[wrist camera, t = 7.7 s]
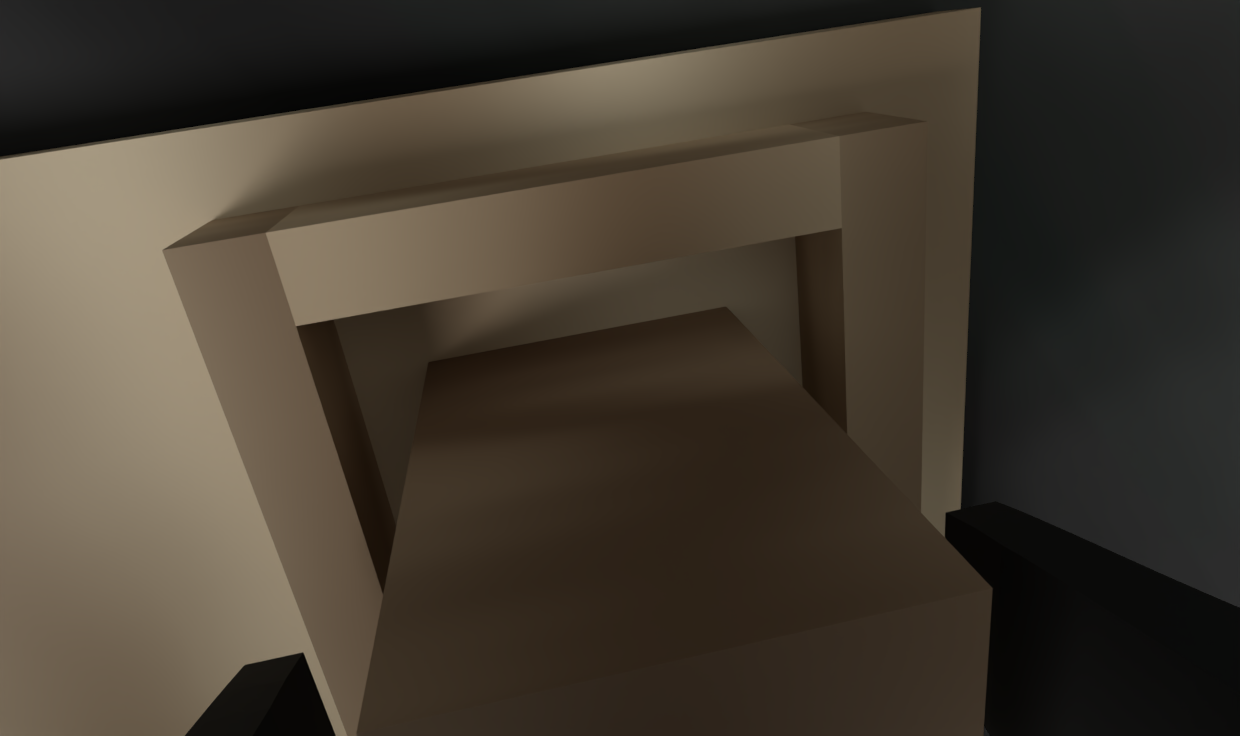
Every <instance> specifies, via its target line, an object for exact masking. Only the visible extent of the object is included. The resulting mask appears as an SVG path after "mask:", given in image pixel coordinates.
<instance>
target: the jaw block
mask: <svg viewBox="0 0 1240 736" xmlns="http://www.w3.org/2000/svg"><path fill="white" fill-rule="evenodd" d="M992 590H993V588H992V587H991V586H990V585H989V584H988V583H987V582H986V581H985V580H984V579H983V578H982V577H981V575H980V574H979V573H978V572H977V571H976V570H975V569H974V568H973V567H972V566H971V565H970V564H969V563H968V562H967V561H966V560H965V559H964V557H963V556H962V555H961V554H960V553H959V552H958V551H957V550H956V549H955V548H954V547H953V546H952V545H951V544H950V543H949V542H948V541H947V539H946V538H945V537H944V536H943V535H942V534H941V533H940V532H939V531H938V530H937V529H936V528H935V527H934V526H933V525H932V524H931V523H930V521H929V520H928V519H927V518H926V517H925V516H924V515H923V514H922V513H921V512H920V511H919V510H918V509H917V508H916V507H915V506H914V505H913V503H912V502H911V501H910V500H909V499H908V498H907V497H906V496H905V495H904V494H903V493H902V492H901V491H900V490H899V489H898V488H897V487H896V485H895V484H894V483H893V482H892V481H891V480H890V479H889V478H888V477H887V476H886V475H885V474H884V473H883V472H882V471H881V470H880V469H879V468H878V466H877V465H876V464H875V463H874V462H873V461H872V460H871V459H870V458H869V457H868V456H867V455H866V454H865V453H864V452H863V451H862V450H861V448H860V447H859V446H858V445H857V444H856V443H855V442H854V441H853V440H852V439H851V438H850V437H849V436H848V435H847V434H846V433H845V432H844V430H843V429H842V428H841V427H840V426H839V425H838V424H837V423H836V422H835V421H834V420H833V419H832V418H831V417H830V416H829V415H828V414H827V412H826V411H825V410H824V409H823V408H822V407H821V406H820V405H819V404H818V403H817V402H816V401H815V400H814V399H813V398H812V397H811V396H810V394H809V393H808V392H807V391H806V390H805V389H804V388H803V387H802V386H801V385H800V384H799V383H798V382H797V381H796V380H795V379H794V378H793V376H792V375H791V374H790V373H789V372H788V371H787V370H786V369H785V368H784V367H783V366H782V365H781V364H780V363H779V362H778V361H777V360H776V359H775V357H774V356H773V355H772V354H771V353H770V352H769V351H768V350H767V349H766V348H765V347H764V346H763V345H762V344H761V343H760V342H759V341H758V339H757V338H756V337H755V336H754V335H753V334H752V333H751V332H750V331H749V330H748V329H747V328H746V327H745V326H744V325H743V324H742V323H741V321H740V320H739V319H738V318H737V317H736V316H735V315H734V314H733V313H732V312H731V311H730V310H729V309H728V308H727V307H720V308H715V309H710V310H704V311H699V312H693V313H688V314H683V315H677V316H672V317H667V318H661V319H656V320H651V321H645V322H640V323H635V324H629V325H624V326H619V327H613V328H608V329H602V330H597V331H592V332H586V333H581V334H576V335H570V336H565V337H560V338H554V339H549V340H544V341H538V342H533V343H528V344H522V345H517V346H511V347H506V348H501V349H495V350H490V351H485V352H479V353H474V354H469V355H463V356H458V357H453V358H447V359H442V360H437V361H431V362H428V367H427V372H426V377H425V382H424V387H423V392H422V397H421V403H420V408H419V413H418V418H417V423H416V428H415V434H414V439H413V444H412V449H411V454H410V459H409V464H408V470H407V475H406V480H405V485H404V490H403V495H402V501H401V506H400V511H399V516H398V521H397V526H396V531H395V537H394V542H393V547H392V552H391V557H390V562H389V568H388V573H387V578H386V583H385V588H384V593H383V598H382V604H381V609H380V614H379V619H378V624H377V629H376V635H375V640H374V645H373V650H372V655H371V660H370V665H369V671H368V676H367V681H366V686H365V691H364V696H363V702H362V707H361V712H360V717H359V722H358V727H357V732H356V734H357V736H983V732H984V717H985V701H986V685H987V669H988V653H989V637H990V622H991V606H992Z"/></svg>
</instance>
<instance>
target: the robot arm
mask: <svg viewBox="0 0 1240 736" xmlns="http://www.w3.org/2000/svg"><path fill="white" fill-rule="evenodd" d="M945 538H946V539H947V541H948V542H949V543H950V544H951V545H952V546H953V547H954V548H955V549H956V550H957V551H958V552H959V553H960V554H961V555H962V556H963V557H964V559H965V560H966V561H967V562H968V563H969V564H970V565H971V566H972V567H973V568H974V569H975V570H976V571H977V572H978V573H979V574H980V575H981V577H982V578H983V579H984V580H985V581H986V582H987V583H988V584H989V585H990V586H991V587H992V588H993V590H992V606H991V622H990V637H989V653H988V669H987V685H986V701H985V717H984V726H985V728H986V730H987V731H988V733H989V734H990V736H1240V608H1239V607H1236V606H1234V605H1232V604H1229V603H1227V602H1225V601H1222V600H1220V599H1218V598H1215V597H1213V596H1211V595H1208V594H1206V593H1204V592H1201V591H1199V590H1197V589H1195V588H1192V587H1190V586H1188V585H1186V584H1183V583H1181V582H1179V581H1176V580H1174V579H1172V578H1170V577H1167V576H1165V575H1163V574H1161V573H1158V572H1156V571H1154V570H1152V569H1149V568H1147V567H1145V566H1143V565H1140V564H1138V563H1136V562H1134V561H1132V560H1129V559H1127V558H1125V557H1123V556H1120V555H1118V554H1116V553H1114V552H1112V551H1109V550H1107V549H1105V548H1103V547H1101V546H1098V545H1096V544H1094V543H1092V542H1089V541H1087V540H1085V539H1083V538H1081V537H1078V536H1076V535H1074V534H1072V533H1069V532H1067V531H1065V530H1063V529H1060V528H1058V527H1056V526H1054V525H1051V524H1049V523H1047V522H1045V521H1042V520H1040V519H1038V518H1035V517H1033V516H1031V515H1028V514H1026V513H1024V512H1021V511H1019V510H1016V509H1014V508H1011V507H1009V506H1006V505H1003V504H1001V503H998V502H992V503H987V504H982V505H978V506H973V507H969V508H964V509H959V510H955V511H950V512H946V514H945ZM185 736H336V735H335V732H334V730H333V727H332V725H331V722H330V720H329V717H328V714H327V712H326V709H325V707H324V704H323V702H322V699H321V696H320V694H319V691H318V689H317V686H316V684H315V681H314V678H313V676H312V673H311V671H310V668H309V666H308V663H307V660H306V658H305V655H304V653H303V652H302V653H297V654H293V655H288V656H284V657H279V658H274V659H270V660H265V661H261V662H256V663H251V664H247V665H244V666H243V667H242V668H241V670H240V671H239V672H238V673H237V674H236V675H235V676H234V677H233V679H232V680H231V681H230V682H229V683H228V684H227V685H226V687H225V688H224V689H223V690H222V691H221V693H220V694H219V695H218V696H217V697H216V698H215V700H214V701H213V702H212V703H211V704H210V706H209V707H208V708H207V709H206V710H205V712H204V713H203V714H202V715H201V717H200V718H199V719H198V720H197V721H196V723H195V724H194V725H193V726H192V727H191V729H190V730H189V731H188V732H187V733H186V735H185Z"/></svg>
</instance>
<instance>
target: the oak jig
mask: <svg viewBox="0 0 1240 736" xmlns="http://www.w3.org/2000/svg"><path fill="white" fill-rule="evenodd" d="M980 21H981V7H980V8H969V9H959V10H948V11H938V12H931V13H925V14H918V15H912V16H906V17H899V18H893V19H886V20H880V21H873V22H867V23H860V24H854V25H847V26H841V27H835V28H828V29H822V30H815V31H809V32H802V33H796V34H789V35H783V36H776V37H770V38H764V39H757V40H751V41H744V42H738V43H731V44H725V45H718V46H712V47H705V48H699V49H693V50H686V51H680V52H673V53H667V54H660V55H654V56H647V57H641V58H634V59H628V60H622V61H615V62H609V63H602V64H596V65H589V66H583V67H576V68H570V69H563V70H557V71H551V72H544V73H538V74H531V75H525V76H518V77H512V78H505V79H499V80H492V81H486V82H480V83H473V84H467V85H460V86H454V87H447V88H441V89H434V90H428V91H421V92H415V93H409V94H402V95H396V96H389V97H383V98H376V99H370V100H363V101H357V102H350V103H344V104H338V105H331V106H325V107H318V108H312V109H305V110H299V111H292V112H286V113H279V114H273V115H267V116H260V117H254V118H247V119H241V120H234V121H228V122H221V123H215V124H208V125H202V126H196V127H189V128H183V129H176V130H170V131H163V132H157V133H150V134H144V135H137V136H131V137H125V138H118V139H112V140H105V141H99V142H92V143H86V144H79V145H73V146H67V147H60V148H54V149H47V150H41V151H34V152H28V153H21V154H15V155H8V156H2V157H0V736H185V735H186V733H187V732H188V731H189V730H190V729H191V727H192V726H193V725H194V724H195V723H196V721H197V720H198V719H199V718H200V717H201V715H202V714H203V713H204V712H205V710H206V709H207V708H208V707H209V706H210V704H211V703H212V702H213V701H214V700H215V698H216V697H217V696H218V695H219V694H220V693H221V691H222V690H223V689H224V688H225V687H226V685H227V684H228V683H229V682H230V681H231V680H232V679H233V677H234V676H235V675H236V674H237V673H238V672H239V671H240V670H241V668H242V667H243V666H244V665H247V664H251V663H256V662H261V661H265V660H270V659H274V658H279V657H284V656H288V655H293V654H297V653H302V652H303V653H304V655H305V658H306V660H307V663H308V666H309V668H310V671H311V673H312V676H313V678H314V681H315V684H316V686H317V689H318V691H319V694H320V696H321V699H322V702H323V704H324V707H325V709H326V712H327V714H328V717H329V720H330V722H331V725H332V727H333V730H334V732H335V735H336V736H357V734H356V732H357V727H358V722H359V717H360V712H361V707H362V702H363V696H364V691H365V686H366V681H367V676H368V671H369V665H370V660H371V655H372V650H373V645H374V640H375V635H376V629H377V624H378V619H379V614H380V609H381V604H382V598H383V593H384V588H385V583H386V578H387V573H388V568H389V562H390V557H391V552H392V547H393V542H394V537H395V531H396V526H397V521H398V516H399V511H400V506H401V501H402V495H403V490H404V485H405V480H406V475H407V470H408V464H409V459H410V454H411V449H412V444H413V439H414V434H415V428H416V423H417V418H418V413H419V408H420V403H421V397H422V392H423V387H424V382H425V377H426V372H427V367H428V362H431V361H437V360H442V359H447V358H453V357H458V356H463V355H469V354H474V353H479V352H485V351H490V350H495V349H501V348H506V347H511V346H517V345H522V344H528V343H533V342H538V341H544V340H549V339H554V338H560V337H565V336H570V335H576V334H581V333H586V332H592V331H597V330H602V329H608V328H613V327H619V326H624V325H629V324H635V323H640V322H645V321H651V320H656V319H661V318H667V317H672V316H677V315H683V314H688V313H693V312H699V311H704V310H710V309H715V308H720V307H727V308H728V309H729V310H730V311H731V312H732V313H733V314H734V315H735V316H736V317H737V318H738V319H739V320H740V321H741V323H742V324H743V325H744V326H745V327H746V328H747V329H748V330H749V331H750V332H751V333H752V334H753V335H754V336H755V337H756V338H757V339H758V341H759V342H760V343H761V344H762V345H763V346H764V347H765V348H766V349H767V350H768V351H769V352H770V353H771V354H772V355H773V356H774V357H775V359H776V360H777V361H778V362H779V363H780V364H781V365H782V366H783V367H784V368H785V369H786V370H787V371H788V372H789V373H790V374H791V375H792V376H793V378H794V379H795V380H796V381H797V382H798V383H799V384H800V385H801V386H802V387H803V388H804V389H805V390H806V391H807V392H808V393H809V394H810V396H811V397H812V398H813V399H814V400H815V401H816V402H817V403H818V404H819V405H820V406H821V407H822V408H823V409H824V410H825V411H826V412H827V414H828V415H829V416H830V417H831V418H832V419H833V420H834V421H835V422H836V423H837V424H838V425H839V426H840V427H841V428H842V429H843V430H844V432H845V433H846V434H847V435H848V436H849V437H850V438H851V439H852V440H853V441H854V442H855V443H856V444H857V445H858V446H859V447H860V448H861V450H862V451H863V452H864V453H865V454H866V455H867V456H868V457H869V458H870V459H871V460H872V461H873V462H874V463H875V464H876V465H877V466H878V468H879V469H880V470H881V471H882V472H883V473H884V474H885V475H886V476H887V477H888V478H889V479H890V480H891V481H892V482H893V483H894V484H895V485H896V487H897V488H898V489H899V490H900V491H901V492H902V493H903V494H904V495H905V496H906V497H907V498H908V499H909V500H910V501H911V502H912V503H913V505H914V506H915V507H916V508H917V509H918V510H919V511H920V512H921V513H922V514H923V515H924V516H925V517H926V518H927V519H928V520H929V521H930V523H931V524H932V525H933V526H934V527H935V528H936V529H937V530H938V531H939V532H940V533H941V534H942V535H943V536H944V537H945V514H946V512H950V511H955V510H959V509H961V486H962V461H963V437H964V412H965V388H966V363H967V339H968V315H969V290H970V266H971V241H972V217H973V192H974V168H975V143H976V119H977V95H978V70H979V46H980Z"/></svg>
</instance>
